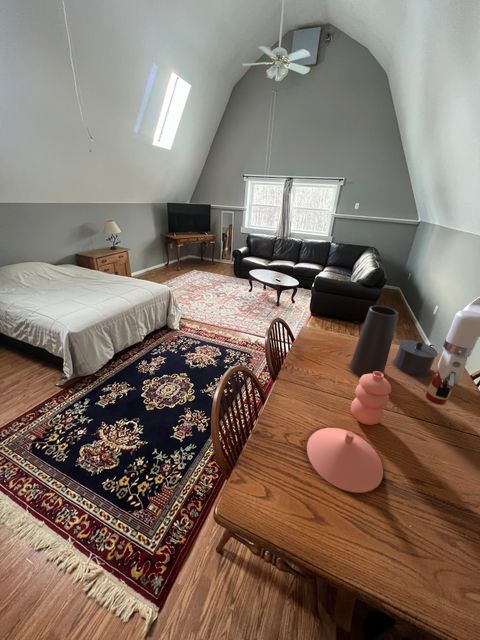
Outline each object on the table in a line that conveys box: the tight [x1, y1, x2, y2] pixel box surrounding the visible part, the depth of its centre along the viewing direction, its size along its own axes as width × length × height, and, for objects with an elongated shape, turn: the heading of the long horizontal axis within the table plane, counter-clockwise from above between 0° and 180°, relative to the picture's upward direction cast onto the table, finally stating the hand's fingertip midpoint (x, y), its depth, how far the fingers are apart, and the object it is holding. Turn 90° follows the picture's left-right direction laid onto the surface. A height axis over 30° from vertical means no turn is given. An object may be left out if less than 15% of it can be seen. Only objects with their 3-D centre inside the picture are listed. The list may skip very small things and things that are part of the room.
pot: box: [393, 346, 436, 377], centre depth 120 cm, size 14×14×10 cm
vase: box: [349, 305, 400, 378], centre depth 112 cm, size 14×14×29 cm
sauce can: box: [425, 373, 456, 406], centre depth 95 cm, size 6×6×9 cm
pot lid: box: [398, 339, 439, 359], centre depth 118 cm, size 15×15×4 cm
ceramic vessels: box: [306, 371, 392, 494], centre depth 79 cm, size 35×21×19 cm, turn 140°
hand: (439, 390), depth 96 cm, fingers closed on sauce can, 6 cm apart
